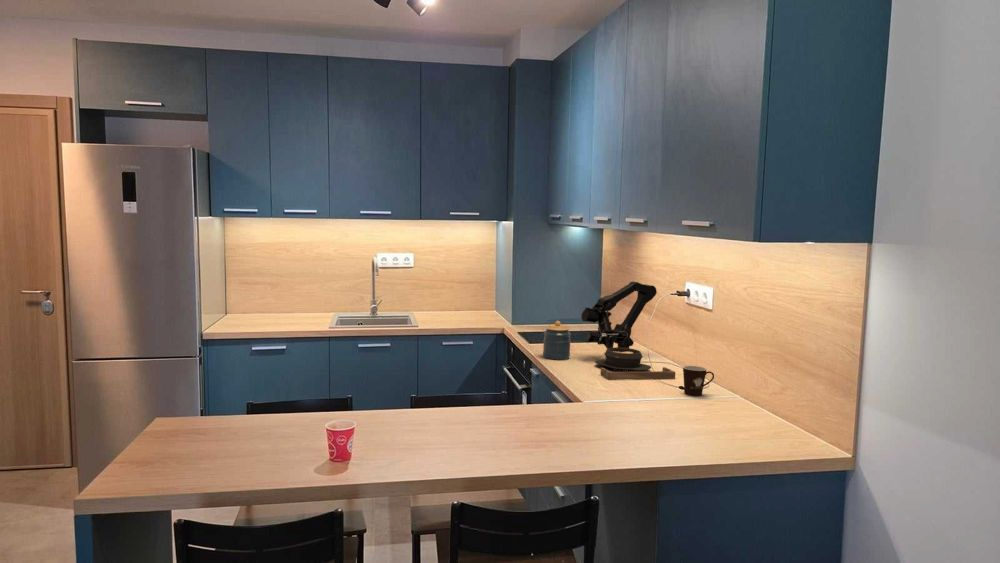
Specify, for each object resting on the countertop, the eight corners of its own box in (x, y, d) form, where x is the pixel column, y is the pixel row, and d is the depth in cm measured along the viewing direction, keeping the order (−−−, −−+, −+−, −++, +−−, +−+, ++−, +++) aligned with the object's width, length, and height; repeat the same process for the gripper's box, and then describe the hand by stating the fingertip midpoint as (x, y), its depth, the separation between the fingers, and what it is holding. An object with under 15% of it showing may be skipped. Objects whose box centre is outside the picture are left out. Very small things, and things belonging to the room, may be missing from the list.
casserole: (588, 368, 285) (589, 349, 285) (603, 361, 301) (604, 344, 301) (643, 376, 273) (644, 357, 272) (656, 369, 289) (657, 350, 288)
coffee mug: (681, 395, 244) (682, 369, 243) (681, 390, 252) (683, 365, 251) (713, 398, 240) (715, 372, 239) (712, 393, 248) (714, 368, 248)
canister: (538, 355, 311) (540, 318, 309) (563, 354, 314) (565, 318, 313) (548, 360, 298) (550, 323, 297) (574, 360, 302) (576, 322, 301)
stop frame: (600, 374, 273) (600, 367, 273) (664, 373, 280) (665, 367, 280) (608, 379, 264) (609, 372, 264) (675, 378, 271) (675, 371, 271)
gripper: (616, 331, 314) (623, 360, 305) (580, 332, 310) (586, 361, 301) (624, 319, 305) (632, 348, 297) (587, 320, 301) (594, 349, 292)
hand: (611, 352), depth 297 cm, fingers closed
